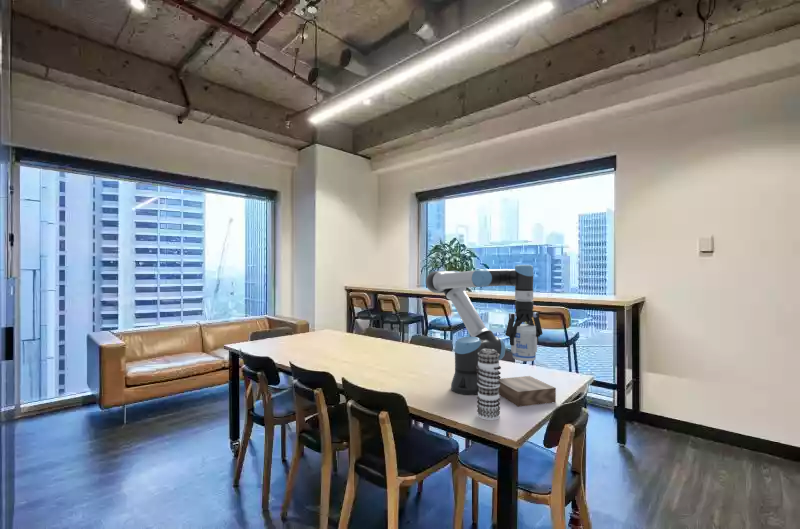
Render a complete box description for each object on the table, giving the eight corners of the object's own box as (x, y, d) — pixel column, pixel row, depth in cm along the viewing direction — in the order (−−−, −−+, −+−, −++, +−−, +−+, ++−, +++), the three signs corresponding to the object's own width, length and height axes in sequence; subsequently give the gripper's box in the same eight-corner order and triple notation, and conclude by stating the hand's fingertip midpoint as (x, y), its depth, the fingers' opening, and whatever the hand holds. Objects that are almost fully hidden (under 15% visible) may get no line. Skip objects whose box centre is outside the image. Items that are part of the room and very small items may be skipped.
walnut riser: (517, 406, 155) (517, 391, 155) (494, 392, 172) (494, 379, 172) (555, 402, 159) (555, 387, 160) (529, 388, 177) (529, 375, 177)
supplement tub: (510, 360, 164) (510, 326, 164) (514, 355, 172) (514, 323, 172) (534, 363, 159) (534, 327, 159) (537, 358, 168) (537, 324, 168)
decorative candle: (495, 410, 151) (495, 346, 151) (505, 419, 141) (505, 352, 141) (472, 411, 149) (472, 347, 149) (481, 421, 140) (481, 353, 140)
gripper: (506, 301, 159) (506, 355, 159) (551, 300, 165) (551, 352, 165) (496, 300, 166) (496, 351, 166) (540, 299, 173) (540, 348, 172)
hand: (524, 351), depth 166 cm, fingers closed on supplement tub, 10 cm apart
